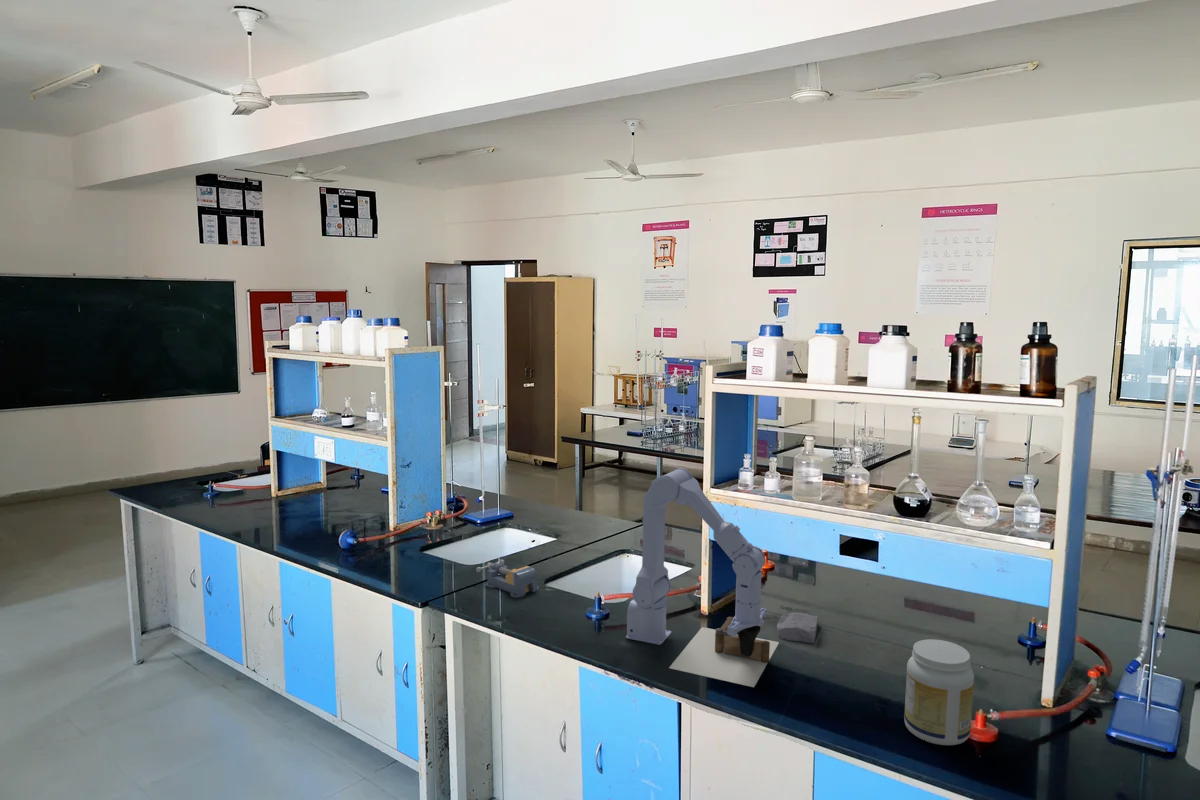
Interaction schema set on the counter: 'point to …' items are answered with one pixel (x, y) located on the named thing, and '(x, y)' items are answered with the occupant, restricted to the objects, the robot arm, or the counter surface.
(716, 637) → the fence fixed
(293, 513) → the counter surface
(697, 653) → the board
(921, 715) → the supplement tub
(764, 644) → the swing rail
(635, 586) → the robot arm
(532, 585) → the vise
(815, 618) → the stone block
